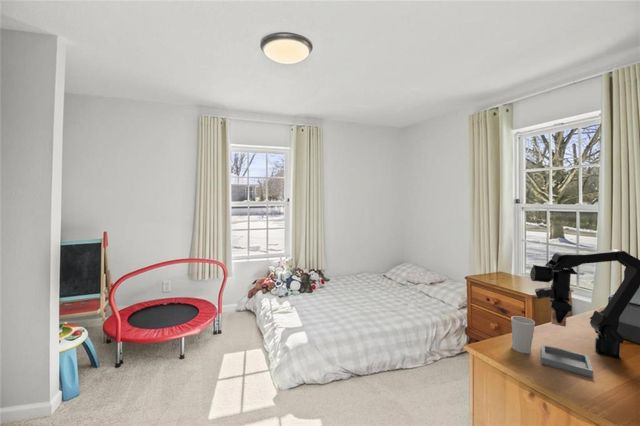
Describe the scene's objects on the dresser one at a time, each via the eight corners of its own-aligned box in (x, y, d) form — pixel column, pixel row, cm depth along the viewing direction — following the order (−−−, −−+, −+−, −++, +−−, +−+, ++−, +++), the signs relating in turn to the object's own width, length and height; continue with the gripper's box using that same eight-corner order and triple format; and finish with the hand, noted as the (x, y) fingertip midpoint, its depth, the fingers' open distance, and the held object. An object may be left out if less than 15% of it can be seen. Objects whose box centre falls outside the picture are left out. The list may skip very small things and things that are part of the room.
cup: (537, 355, 117) (539, 325, 117) (514, 352, 119) (516, 322, 118) (527, 345, 125) (529, 317, 125) (506, 343, 127) (507, 315, 126)
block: (564, 323, 126) (565, 311, 126) (565, 326, 122) (566, 314, 122) (551, 320, 128) (551, 308, 128) (551, 323, 125) (552, 311, 125)
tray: (587, 361, 113) (587, 355, 113) (592, 378, 103) (593, 370, 103) (541, 350, 121) (541, 344, 121) (541, 364, 111) (542, 357, 111)
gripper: (536, 275, 137) (534, 310, 137) (537, 284, 122) (534, 323, 122) (568, 280, 130) (566, 316, 131) (573, 290, 115) (570, 330, 116)
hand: (558, 320), depth 125 cm, fingers closed on block, 4 cm apart
